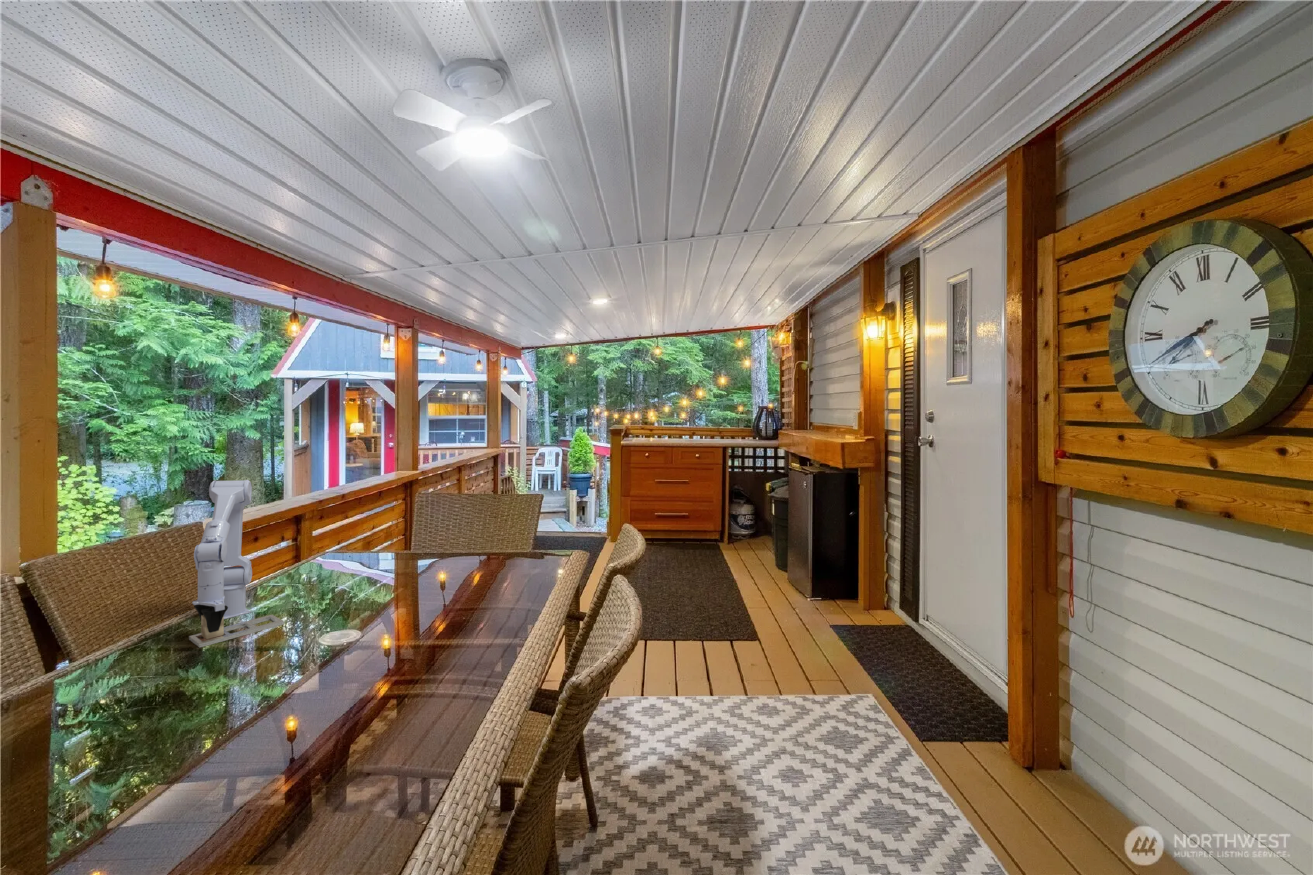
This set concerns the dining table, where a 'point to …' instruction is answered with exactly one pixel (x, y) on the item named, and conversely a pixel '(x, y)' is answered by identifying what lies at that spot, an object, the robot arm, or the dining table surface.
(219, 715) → the dining table surface
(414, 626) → the dining table surface
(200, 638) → the white rectangular slotted frame
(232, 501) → the robot arm
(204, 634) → the block
